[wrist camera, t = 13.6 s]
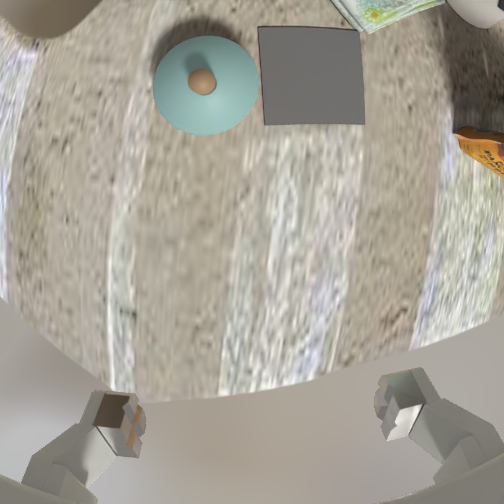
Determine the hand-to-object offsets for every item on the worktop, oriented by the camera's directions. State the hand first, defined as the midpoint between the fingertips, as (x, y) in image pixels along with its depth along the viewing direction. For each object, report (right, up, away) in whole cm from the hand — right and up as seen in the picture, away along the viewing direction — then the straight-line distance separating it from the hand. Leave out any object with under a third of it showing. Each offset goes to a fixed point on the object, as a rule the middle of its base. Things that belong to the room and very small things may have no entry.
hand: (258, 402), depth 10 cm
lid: (-6, +24, +24) cm, 35 cm away
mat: (+8, +29, +28) cm, 41 cm away
